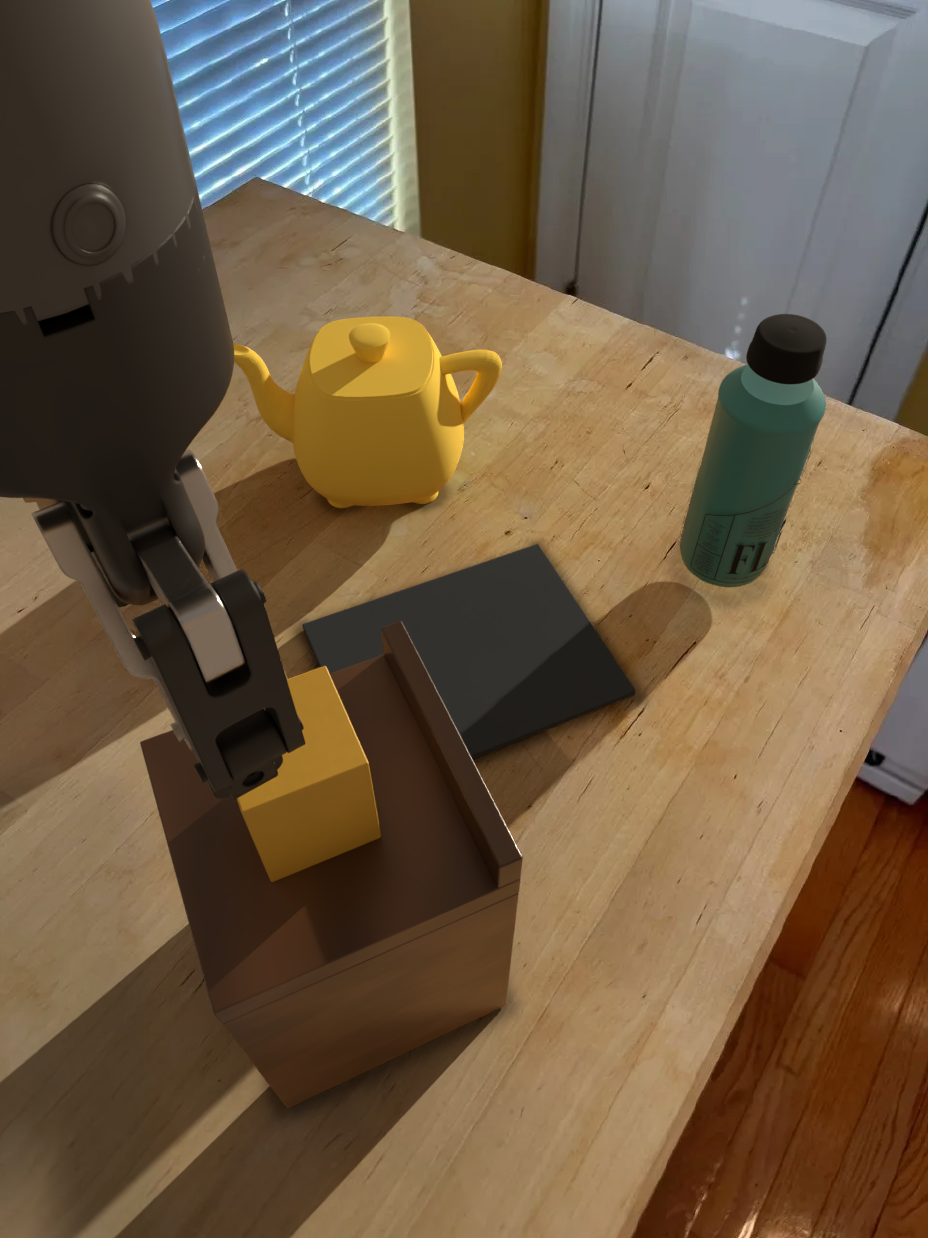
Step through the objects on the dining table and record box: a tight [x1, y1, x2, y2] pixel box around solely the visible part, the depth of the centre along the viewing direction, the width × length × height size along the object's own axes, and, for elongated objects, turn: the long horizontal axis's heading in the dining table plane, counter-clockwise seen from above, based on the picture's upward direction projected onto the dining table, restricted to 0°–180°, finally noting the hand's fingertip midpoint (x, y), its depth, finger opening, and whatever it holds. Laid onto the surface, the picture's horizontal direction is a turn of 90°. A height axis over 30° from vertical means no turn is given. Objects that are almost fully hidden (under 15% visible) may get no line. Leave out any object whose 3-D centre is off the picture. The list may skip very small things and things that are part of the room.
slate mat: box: [302, 543, 637, 760], centre depth 62 cm, size 18×14×1 cm
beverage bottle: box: [677, 313, 828, 588], centre depth 60 cm, size 6×7×20 cm
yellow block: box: [237, 666, 381, 882], centre depth 35 cm, size 4×4×6 cm
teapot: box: [233, 315, 503, 509], centre depth 69 cm, size 13×20×12 cm
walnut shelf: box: [139, 621, 524, 1109], centre depth 44 cm, size 12×12×19 cm
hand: (189, 677), depth 30 cm, fingers open, 8 cm apart
